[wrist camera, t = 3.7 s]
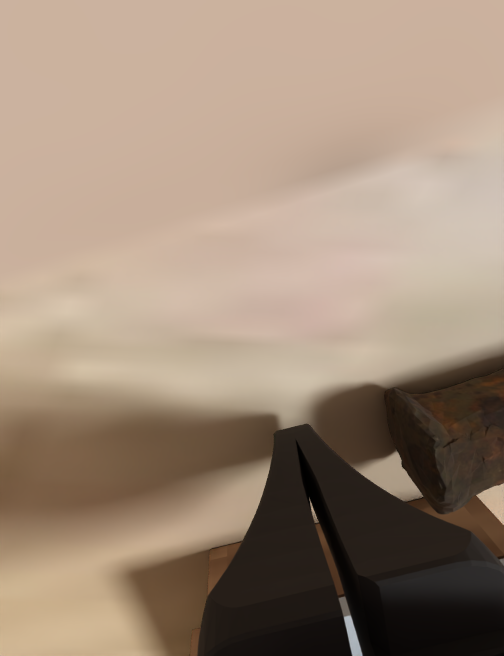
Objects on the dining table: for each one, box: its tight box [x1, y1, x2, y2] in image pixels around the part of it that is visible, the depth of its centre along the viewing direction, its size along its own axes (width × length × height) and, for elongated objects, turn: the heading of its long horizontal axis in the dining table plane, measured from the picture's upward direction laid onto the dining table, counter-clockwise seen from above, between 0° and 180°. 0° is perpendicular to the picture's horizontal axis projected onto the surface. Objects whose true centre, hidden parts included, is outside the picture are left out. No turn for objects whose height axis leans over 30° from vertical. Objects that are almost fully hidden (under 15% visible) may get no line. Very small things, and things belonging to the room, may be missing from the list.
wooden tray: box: [190, 495, 504, 656], centre depth 15 cm, size 11×13×4 cm
